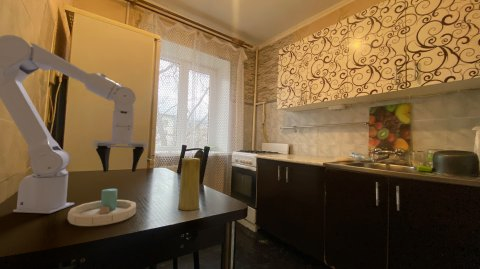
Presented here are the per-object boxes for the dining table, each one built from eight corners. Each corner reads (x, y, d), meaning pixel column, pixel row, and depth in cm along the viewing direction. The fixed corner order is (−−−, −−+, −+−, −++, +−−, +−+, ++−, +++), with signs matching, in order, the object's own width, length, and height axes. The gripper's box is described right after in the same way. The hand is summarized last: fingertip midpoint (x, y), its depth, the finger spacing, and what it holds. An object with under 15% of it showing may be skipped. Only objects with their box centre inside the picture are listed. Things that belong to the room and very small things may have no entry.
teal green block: (97, 210, 55) (98, 191, 55) (106, 206, 58) (107, 188, 58) (110, 211, 54) (112, 192, 55) (119, 207, 58) (120, 189, 58)
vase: (194, 212, 58) (196, 160, 59) (173, 209, 59) (176, 158, 60) (202, 205, 64) (204, 158, 65) (183, 203, 65) (186, 157, 66)
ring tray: (51, 224, 46) (52, 215, 46) (96, 205, 60) (96, 198, 60) (115, 227, 46) (115, 218, 46) (144, 207, 60) (145, 200, 60)
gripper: (90, 124, 59) (87, 173, 59) (146, 127, 63) (143, 173, 63) (99, 126, 66) (96, 169, 65) (149, 128, 70) (147, 170, 69)
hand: (120, 171), depth 64 cm, fingers open, 7 cm apart
